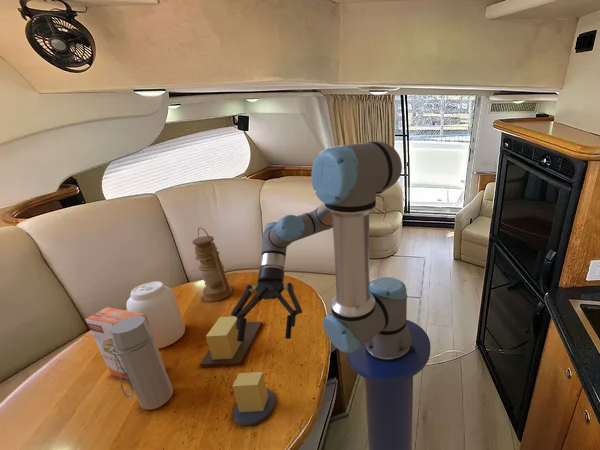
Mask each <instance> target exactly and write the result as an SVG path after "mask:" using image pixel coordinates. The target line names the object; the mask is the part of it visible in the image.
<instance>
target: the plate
mask: <svg viewBox="0 0 600 450" xmlns="http://www.w3.org/2000/svg"><path fill="white" fill-rule="evenodd" d="M267 394H268V399H267V402H266V405H265V407H264V410H263V411H252V412H239V410H238V406H237V402H236V403H235V405H234V407H233V410H232V416H233V417H232V418H233V420H234V422H235V423H236V424H237V425H238V426H242V427H251V426H254V425H255V426H256V425H257V424H260V423H261V422H263V421H265V420H266V419H267V418H268V417H269V416H270V415H271V413H272V412H273V410H274V408H275V406H276V398H275V395H274V393H273V391H271V390H269V389H267Z"/></svg>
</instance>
